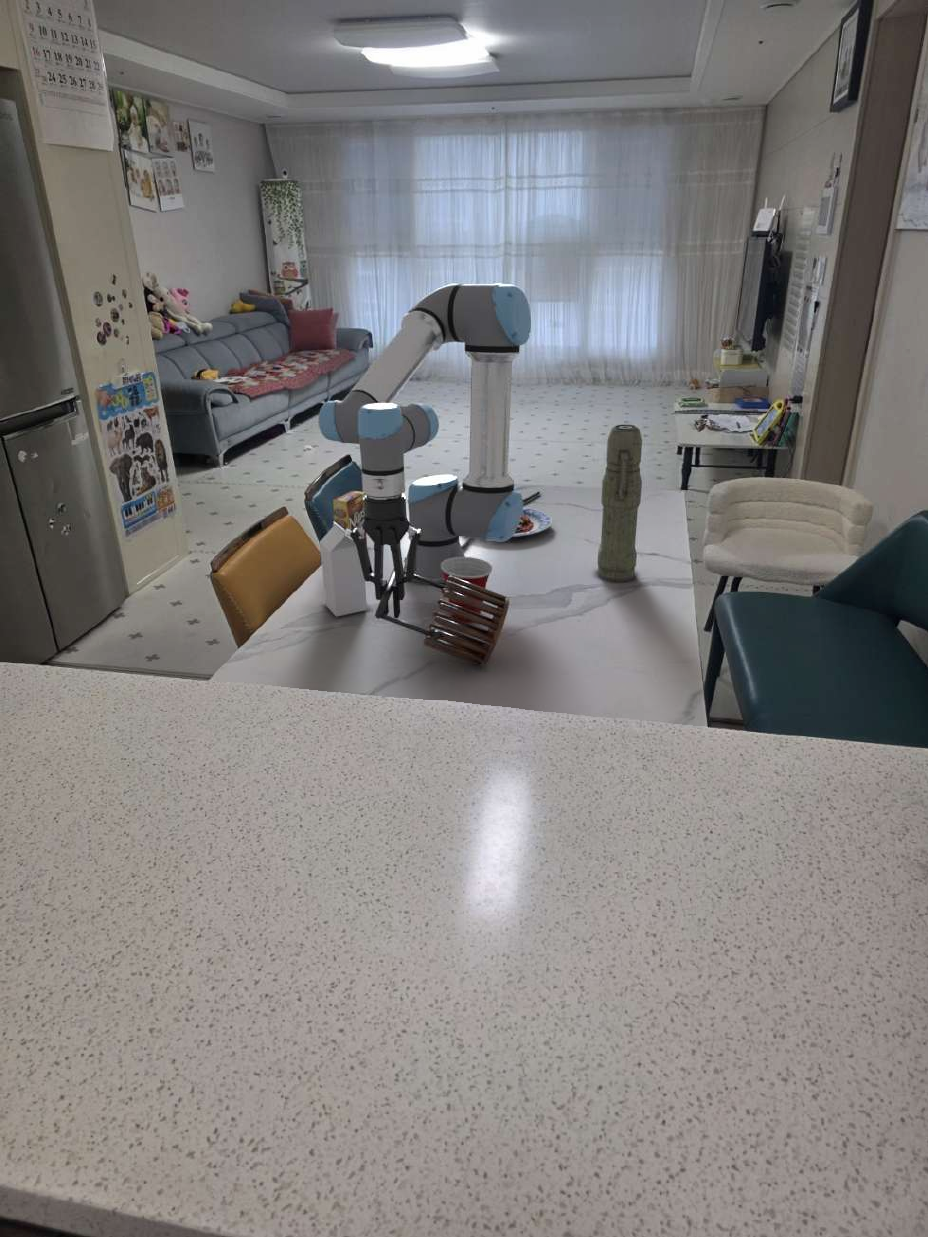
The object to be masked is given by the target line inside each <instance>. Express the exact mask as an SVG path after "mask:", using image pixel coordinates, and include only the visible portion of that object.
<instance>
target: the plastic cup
mask: <svg viewBox="0 0 928 1237" xmlns="http://www.w3.org/2000/svg"><path fill="white" fill-rule="evenodd" d="M441 569H442V571H443V573H444V578H445V582H446V581H447V578H448V576H453V577H456V578H459V579H461V580H464V581H467V582H469V583H472V584H474V585H477V586H480V587H482V588H485V589H487V583H488V579H489V578H490V575H491V573H492V572H493V565H492V564H490V563H489V561H485V560H483V559H482V558H477V557H471V556H465V557H454V558H450V559H446V560H444V561H443V562H442V563H441ZM454 592H456V593H459V594H462V595H464V596H467V597H469V598H472V599H475V600H477V601H480V602H483V603H484V601H482V600H480V599H477V598H474V597H472V596H469V595H466V594H464V593H461V592H458V591H456V590H454ZM448 602H449V603H452V604H455V605H457V606H460V607H463V608H465V609H468V610H471V611H473V612H476V613H479V614H481V615H482V611H480V610H477V609H475V608H472V607H470V606H467V605H464V604H462V603H459V602H456V601H454V600H451V599H448ZM451 617H453V618H455V619H458V620H461V621H463V622H466V623H473V622H472V621H470V620H467V619H464V618H462V617H459V616H456V615H454V614H451Z"/></svg>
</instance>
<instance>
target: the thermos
mask: <svg viewBox="0 0 928 1237" xmlns="http://www.w3.org/2000/svg"><path fill="white" fill-rule="evenodd" d="M640 430H641V429H640V428H639V427H637V426H636V425H634V424H617V425H614V426H613V427H611V429H610V432H609V434H608V437H607V440H606V458H605V461H606V467H605V472H604V475H603V478H602V480H601V498H600V499H601V500H600V502H601V505H602V517H601V518H602V519H601V520H602V521H601V536H600V544H599V546H598V550H597V576H598V577H599V578H600V579H602V580H604V581H609V582H617V583H619V582H620V583H621V582H627V581H631V580H633V579H634V578H635V572H636V570H635V569H636V566H637V556H638V552H637V549H636V537H637V526H638V511H639V507H640V505H641V500H642V488H643V487H642V485H643V480H642V477H641V467H640V466H641V464H640V463H641V462H642V450H643V438H642V433H641V431H640Z"/></svg>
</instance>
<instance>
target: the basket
mask: <svg viewBox="0 0 928 1237" xmlns="http://www.w3.org/2000/svg"><path fill="white" fill-rule="evenodd" d="M404 574H406V571H404ZM413 579H415V580H418V581H420V582H423V583H422V584H426V585H429V586H432V587H434V588H436V589H439V590H441V594H442V595H443V597H444V598H446V599H448V600H449V599H451V600H454V601H456V602H459V603H462V604H464V605H467V606H470V607H472V608H475V609H477V610H480V611H481V612H482V613H485V614H488V615H491V616H492V617H489V616H487V615H484V614H482V613H481V614H479V613H476V612H473V611H471V610H468V609H465V608H463V607H460V606H457V605H455V604H452V603H449V601H446V600H444V599H440V598H439V599H438V600H437V601H436V603H437V605H438V609H439V610H441V611H443V612H446V613H449V614H451V615H452V614H454V615H456V616H459V617H462V618H464V619H467V620H470V621H472V622H471V623H475V624H478V625H480V626H483V627H485V629H484V628H482V627H479V626H477V625H474V624H471V623H470V622H463V621H461V620H458V619H455V618H453V616H451V615H447V614H445V613H442V612H439V611H436V610H434V611H433V612H432V616H433V622H430V623H428V629H429V630H428V629H425V628H422V627H420V626H417V625H415V624H412V623H410V622H406V621H404V620H401V619H400V618H394V616H390V615H389V614H388V615H385V614H384V611H385V609H386V606H387V604H388V605H389V601H390V599H391V597H392V595H393V591H392V586H393V583H394V581H396V580H395V572H394V568H393V569H392V571H391V574H390V576H389V579H388V580H387V586H386V588H385V591H384V593H383V596H382V598H381V600H379V603H378V606H377V608H376V611H375V612H374V617H375V619H378V620H384V621H387V622H389V623H392V624H395V625H398V626H400V627H403V628H405V629H408V630H412V631H413V632H417V633H419V634H422V635H424V636H425V638H424V639H423V645H424V646H425V647H428V648H431V649H433V650H435V651H436V650H437V651H439V652H441V653H444V654H447V655H449V656H452V657H454V658H458V659H460V660H462V661H466V662H467V663H470V664H474V665H476V666H479V667H485V666H486V664H487V663H488V661H489V660H490V658H491V657H492V654H493V652H494V649H495V648H496V646H497V643H498V640H499V638H500V635H501V632H502V630H503V627H504V624H505V620H506V617H507V613H508V611H509V606H510V597H508V596H506V595H503V594H500V593H498V592H495V591H493V590H490V589H487V588H482V587H480V586H477V585H474V584H472V583H469V582H467V581H464V580H461V579H459V578H456V577H453V576H448V578H447V581H446V582H445V583H444V584H445V585H444V584H442V583H441V584H439V583H436V582H434V581H431V580H428V579H426V578H423V577H420V576H418V575H415V574H414V576H413ZM454 590H456V591H458V592H461V593H464V594H466V595H469V596H472V597H474V598H477V599H480V600H482V601H483V602H480V601H477V600H475V599H472V598H469V597H467V596H464V595H462V594H459V593H456V592H454ZM486 628H487V629H486Z"/></svg>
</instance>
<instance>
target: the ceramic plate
mask: <svg viewBox="0 0 928 1237" xmlns="http://www.w3.org/2000/svg"><path fill="white" fill-rule="evenodd" d="M552 525H553V518H552V517H551V516H550V515H549V514H547V513H546V512H544V511H542V510H539V509H534V508H530V507H524V506H523V510H522V515H521V519H520V522H519V525H518V527H517V529H516V531H515V533H514V534H513V536H512V537H511V538H518V537H524V536H531V535H535V534H538V533H541V532H544V531H546V530H547V529H550V527H552Z"/></svg>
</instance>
